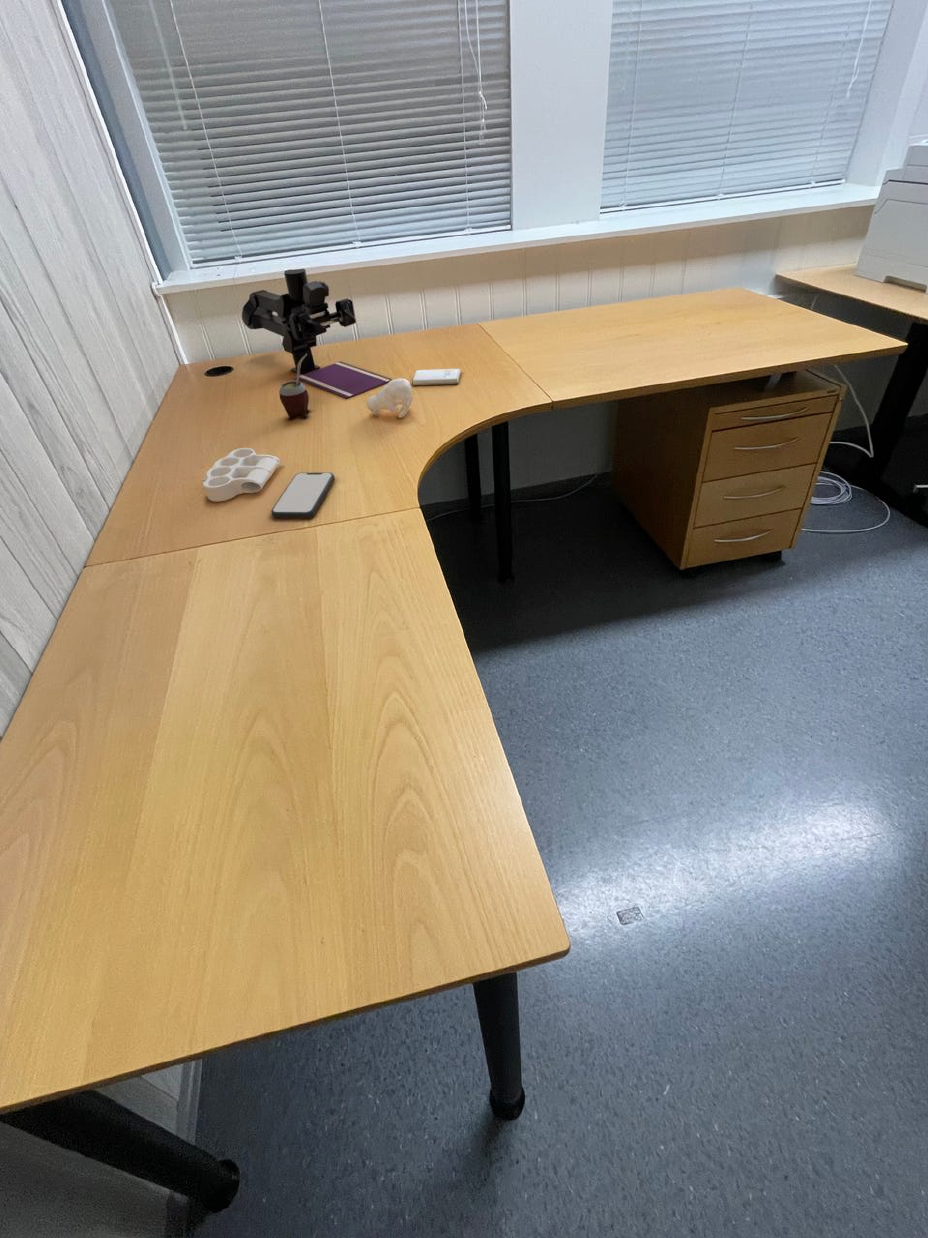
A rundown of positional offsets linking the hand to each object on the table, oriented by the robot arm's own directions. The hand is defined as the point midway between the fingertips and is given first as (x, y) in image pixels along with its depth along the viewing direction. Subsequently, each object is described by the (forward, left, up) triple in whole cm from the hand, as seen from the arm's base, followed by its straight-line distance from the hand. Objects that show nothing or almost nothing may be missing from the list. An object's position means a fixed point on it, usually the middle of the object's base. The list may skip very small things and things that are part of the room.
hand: (340, 325), depth 157 cm
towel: (-8, +3, -17) cm, 19 cm away
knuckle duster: (+24, -47, -17) cm, 56 cm away
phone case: (+42, -42, -17) cm, 62 cm away
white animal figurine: (+23, -4, -17) cm, 29 cm away
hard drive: (+15, +19, -17) cm, 29 cm away
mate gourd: (+4, -19, -17) cm, 26 cm away
